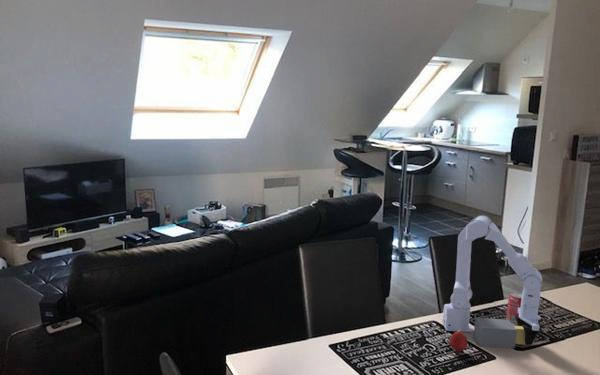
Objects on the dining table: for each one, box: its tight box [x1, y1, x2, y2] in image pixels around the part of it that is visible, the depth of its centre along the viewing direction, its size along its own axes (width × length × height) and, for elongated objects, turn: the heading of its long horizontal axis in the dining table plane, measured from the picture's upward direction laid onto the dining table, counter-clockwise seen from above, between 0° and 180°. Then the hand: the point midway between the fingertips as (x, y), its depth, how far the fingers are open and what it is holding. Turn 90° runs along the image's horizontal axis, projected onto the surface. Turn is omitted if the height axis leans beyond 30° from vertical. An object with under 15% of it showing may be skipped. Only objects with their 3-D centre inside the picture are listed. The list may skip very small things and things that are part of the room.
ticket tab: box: [515, 326, 535, 346], centre depth 172 cm, size 16×2×6 cm, turn 86°
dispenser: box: [473, 317, 517, 349], centre depth 172 cm, size 12×8×7 cm, turn 86°
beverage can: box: [505, 292, 522, 326], centre depth 186 cm, size 6×6×12 cm
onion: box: [449, 330, 468, 353], centre depth 164 cm, size 6×6×8 cm
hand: (525, 340), depth 172 cm, fingers open, 5 cm apart
